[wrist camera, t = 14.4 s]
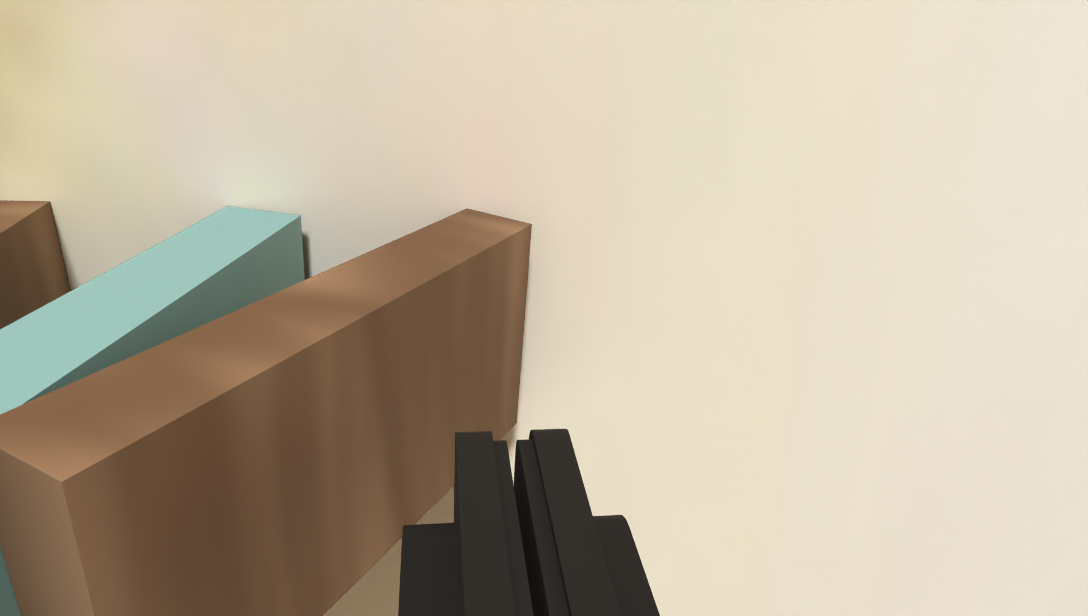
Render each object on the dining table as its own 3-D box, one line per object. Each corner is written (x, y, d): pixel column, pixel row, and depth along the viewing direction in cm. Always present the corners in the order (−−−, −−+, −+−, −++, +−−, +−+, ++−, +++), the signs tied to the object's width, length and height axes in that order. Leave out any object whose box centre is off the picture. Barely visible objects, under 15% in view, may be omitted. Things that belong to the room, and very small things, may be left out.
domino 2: (531, 224, 15) (61, 482, 7) (516, 423, 18) (138, 797, 9) (467, 208, 16) (-36, 430, 8) (459, 402, 18) (58, 737, 10)
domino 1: (300, 215, 15) (-220, 566, 6) (313, 417, 17) (-60, 898, 8) (227, 206, 15) (-383, 537, 6) (248, 408, 18) (-186, 870, 9)
